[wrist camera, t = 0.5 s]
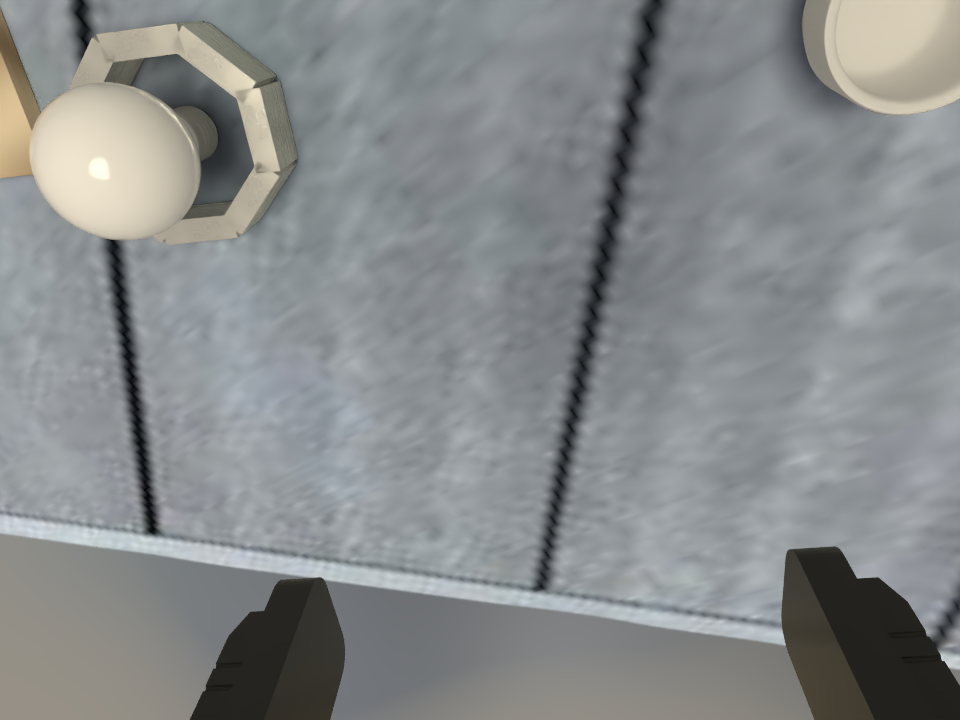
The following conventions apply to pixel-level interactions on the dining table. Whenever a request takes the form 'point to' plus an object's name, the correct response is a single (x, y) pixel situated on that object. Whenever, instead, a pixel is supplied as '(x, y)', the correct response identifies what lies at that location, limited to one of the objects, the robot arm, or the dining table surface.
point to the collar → (238, 76)
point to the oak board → (14, 109)
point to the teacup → (886, 52)
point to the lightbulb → (119, 159)
